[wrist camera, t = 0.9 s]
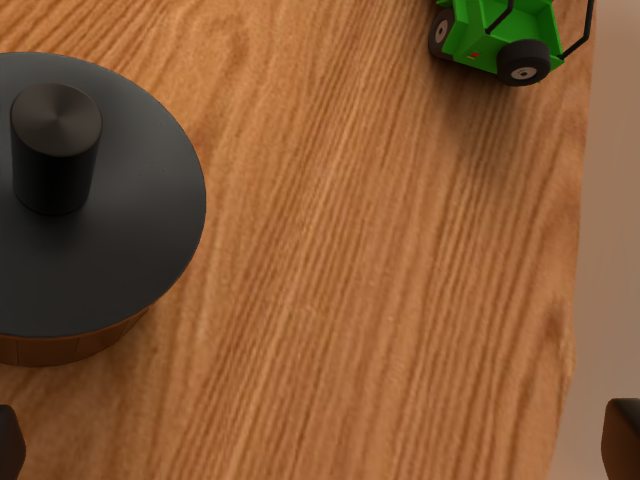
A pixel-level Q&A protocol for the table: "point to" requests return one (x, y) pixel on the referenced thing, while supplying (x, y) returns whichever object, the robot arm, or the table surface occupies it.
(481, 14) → the toy car
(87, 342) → the pot
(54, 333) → the lid
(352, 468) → the table surface
